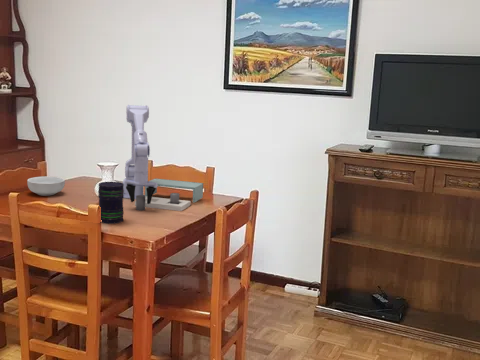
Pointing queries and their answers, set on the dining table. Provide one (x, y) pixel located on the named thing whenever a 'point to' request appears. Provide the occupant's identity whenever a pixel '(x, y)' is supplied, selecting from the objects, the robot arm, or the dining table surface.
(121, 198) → the storage jar
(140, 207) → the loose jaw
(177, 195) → the block
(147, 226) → the dining table surface
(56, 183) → the cereal bowl
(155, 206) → the grey base plate
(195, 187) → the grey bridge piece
